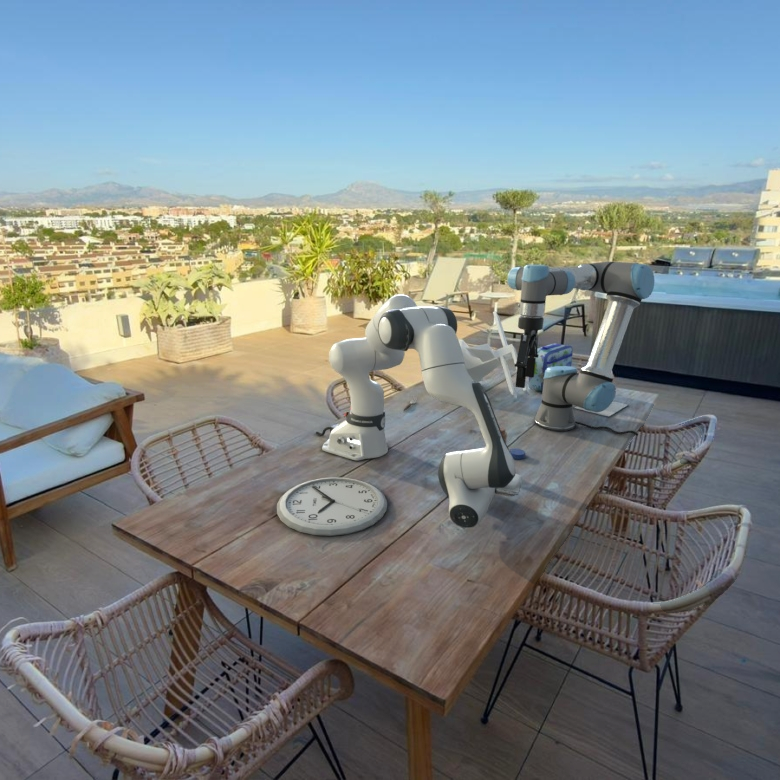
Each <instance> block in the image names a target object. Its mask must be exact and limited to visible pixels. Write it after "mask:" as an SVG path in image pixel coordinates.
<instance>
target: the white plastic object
mask: <svg viewBox="0 0 780 780" xmlns="http://www.w3.org/2000/svg"><path fill="white" fill-rule="evenodd" d="M492 315H493V319H494V321H495V324H496V325H495V326H496V328H497V332H498V335H499V338H500V342H501V345H502V347H500V348H498V349H496V350H495V349H493V348H492V347H491V346H490V344H489V343H488V342H487V343H483V344H479V345H473V346H469V345H468V343H466V342H465V340H464V339H463V338H460V339H459V338H458V341H459V343H460V346H461V350H462V353H463V357H464V362H465V363H464V364H465V367H466V370H467V372H468V374H469V376H470V377H471V378H472V379H473V381H475V382H479V383H480V382H482V381H484V378H485V377H486V376H487V375H489V374H490V373H492V372H494V371H495V370H496V369H497V368H499V367H500V366H502V370H503V373H504V376H505V380H506V383H507V386H508V390H509V393H510V394H511V395H512V397H513V398H514V399H515V400H517V392H516V391H517V390H516V387H515V385H514V381H513V378H512V375H511V371H510V369H509V365H508V361H510V360H513V363H514V365H515V364H516V362H517V356H518V352H517V349H516V347H515V346H514V345H513V343H511V344H508V341H507V337H506V334H505V331H504V328H503V325H502V321H501V318H500V315H499V314H498V312H497V311H496V310H495V311H492ZM515 369H516V370H517V367H515ZM521 389H522V391H523V393H524V395H525V396H526V397H528V396H531V395H530V390H529V386H528V384H527V381H526V380H525V388H521Z"/></svg>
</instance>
